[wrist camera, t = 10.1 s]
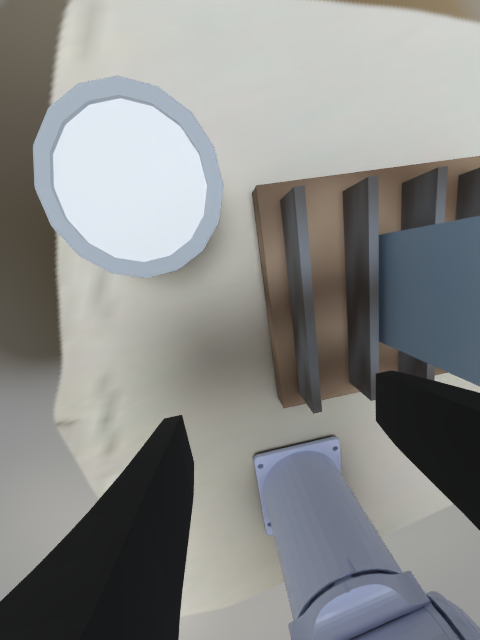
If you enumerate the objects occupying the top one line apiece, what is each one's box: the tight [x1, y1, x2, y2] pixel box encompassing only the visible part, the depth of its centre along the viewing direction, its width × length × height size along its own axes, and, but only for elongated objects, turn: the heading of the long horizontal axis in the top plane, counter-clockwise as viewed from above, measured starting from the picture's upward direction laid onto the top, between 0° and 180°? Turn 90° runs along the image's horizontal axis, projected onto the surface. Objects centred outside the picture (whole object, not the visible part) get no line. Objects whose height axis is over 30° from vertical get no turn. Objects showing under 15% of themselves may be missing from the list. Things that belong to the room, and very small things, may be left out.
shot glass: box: [33, 76, 223, 278], centre depth 12 cm, size 7×7×7 cm
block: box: [379, 216, 480, 386], centre depth 13 cm, size 7×2×8 cm, turn 9°
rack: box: [252, 156, 480, 414], centre depth 16 cm, size 16×16×4 cm
